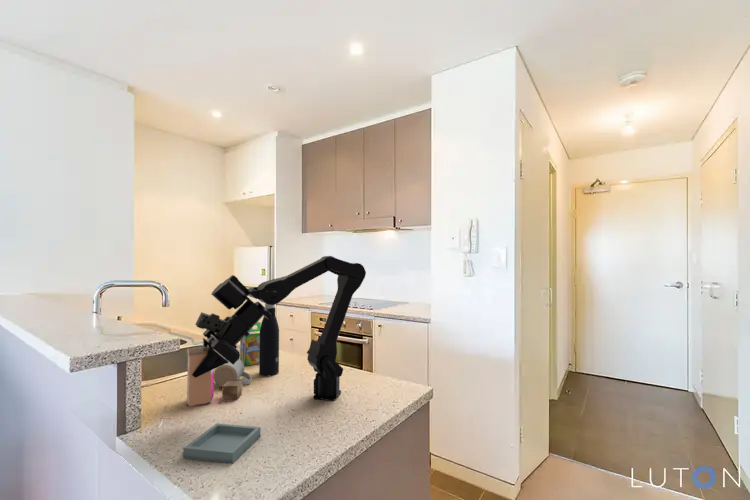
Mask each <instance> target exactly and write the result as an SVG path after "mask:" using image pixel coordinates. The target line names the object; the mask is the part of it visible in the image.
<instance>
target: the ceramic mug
mask: <svg viewBox="0 0 750 500" xmlns="http://www.w3.org/2000/svg"><path fill="white" fill-rule="evenodd" d="M228 362H229V361H228ZM241 377H243V378H245V379H242V378H241ZM252 378H253V377H252V375H250V373H248V372H247V371H245V365H244V364H243V362H242V361H241V360H240V358H239V359H238V360H237V361H236V362H235V364H234V365H233V364H232V363H230V362H229V363H226V364H224V365H221V366H219V367H217V368H215V369H214V383H215V384H216V385H217V386H218V387H221V388H223V385H224V384H225V383H226V382H227V381H242V386H244V385H245V386H246V385H249V384H250V383H251V382H252V380H253V379H252Z"/></svg>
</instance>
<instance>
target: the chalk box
mask: <svg viewBox="0 0 750 500" xmlns="http://www.w3.org/2000/svg"><path fill="white" fill-rule="evenodd" d="M261 323H262V322H261V321H258V322H257V323H256V324H255V325H254V326H257V328H253V327H252V328H250V330H249V332H248V333H250V334H249V335H248V336H247V337H246V336H244V337H243V338H242V339H241V340H240V341H239V343H240V344H239V346H240V347H239V352H240V358H239V359H240V360H241V361H242V362H243V364H244V367H245V366H246V367H247V366H253V365H259V352H260V327H261Z"/></svg>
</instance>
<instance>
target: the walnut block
mask: <svg viewBox="0 0 750 500" xmlns="http://www.w3.org/2000/svg"><path fill="white" fill-rule="evenodd" d="M242 391H243V385H242V381H227V382H226V383H225V384H224V385H223V387H222V401H238V400H239V399H240V397H241V396H242V394H243V392H242Z"/></svg>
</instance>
